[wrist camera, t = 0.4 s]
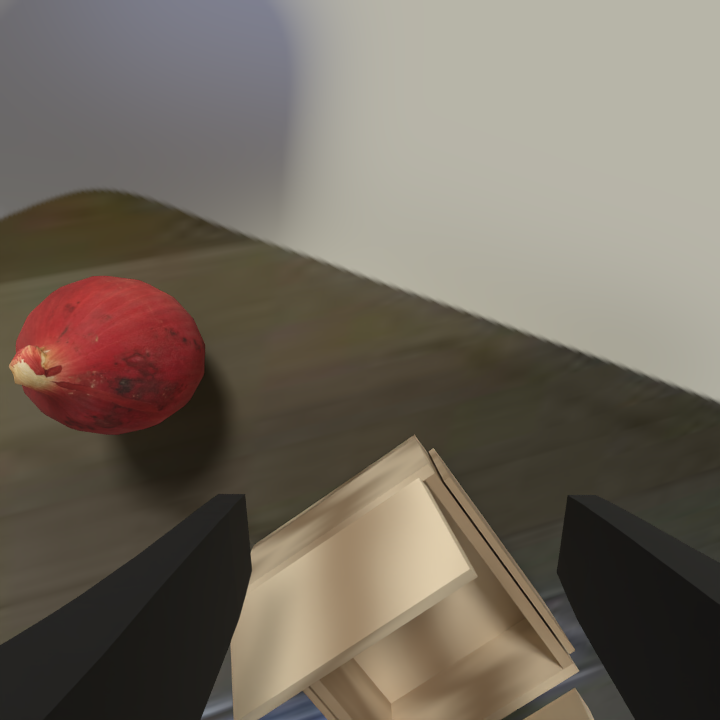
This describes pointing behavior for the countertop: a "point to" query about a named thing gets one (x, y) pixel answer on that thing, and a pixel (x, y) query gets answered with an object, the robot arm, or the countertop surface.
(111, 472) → the countertop surface
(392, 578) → the flap
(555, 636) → the carton
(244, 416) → the countertop surface
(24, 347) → the red rounded oval piece
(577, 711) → the flap
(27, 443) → the countertop surface
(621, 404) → the countertop surface
